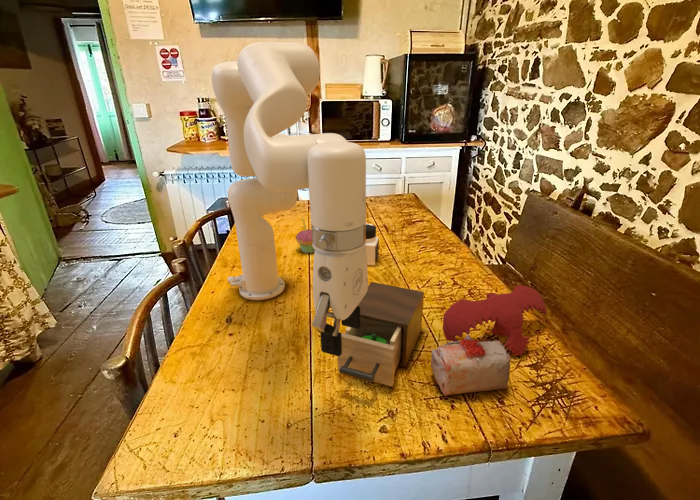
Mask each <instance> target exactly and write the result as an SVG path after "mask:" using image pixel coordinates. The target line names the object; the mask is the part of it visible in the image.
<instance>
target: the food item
mask: <svg viewBox="0 0 700 500" xmlns="http://www.w3.org/2000/svg"><path fill="white" fill-rule="evenodd" d="M430 362H431V363H430V367H431V372H432V374H433V377H434V380H435V382H436V383H437V385H438V387H439V389H440V390H441V393H442V394H443V395H444V397H448V396H454V395H462V394H469V393H477V392H489V391H496V390H506V389H508V388H509V386H508V383H509V379H510V369H511V355H510V353H508V352H507V348H506V346H504V344H503V343H502V342H501V341H500V340H499V339H498V340H497V339H496V340H485V341H479V340H477V339H475V340H474V339H473V337H471V335H470V333H469V334H466V335H465V337H464V338H463V339H460V340H458V341H457V342H453V341H449V342H447V343H444V344H442V345H438V347H437V348H434V349H433V350H431V361H430Z"/></svg>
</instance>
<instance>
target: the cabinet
mask: <svg viewBox="0 0 700 500" xmlns="http://www.w3.org/2000/svg"><path fill="white" fill-rule="evenodd" d="M424 298H425V291H421V290H415V289H412V288H411V289H410V288H405V287H401V286H394V285H390V284H385V283H378V282H374V281H371V282H370V283H368V290H367V292H366V294H365V296H364V297H363V299H362V300H361V304H360V306H358V307H360V317H361V318H365V319H370V320H374V321H378V322H383V323H387V324H391V325H396V326H400V327H404V332H403V352H402V357H401V359H400V361H399V363H398V365H397V366H399V367H403V368H406V367H407V364H408V362H409V360H410V357H411V356H412V353H413V351H414V348H415V347H416V344H417V341H418V339H419V337H420V334H421V332H422V325H423V324H422V323H423V313H424V311H423V310H424Z"/></svg>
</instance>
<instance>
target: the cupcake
mask: <svg viewBox="0 0 700 500" xmlns="http://www.w3.org/2000/svg"><path fill="white" fill-rule="evenodd" d="M301 221H302V225H303V230H301V231H299V232H298V233H297V234H296V235H295V239H296V242H297V244H298V245H299V246H300V248H301V251H302V252H304V253H305V254H306V253H307V254H311V253H314V252H315V249H314V248H313V246H312V230H311V229H307V227H306V221H305V218H304V217H303V216H301Z"/></svg>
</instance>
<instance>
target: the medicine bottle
mask: <svg viewBox="0 0 700 500" xmlns="http://www.w3.org/2000/svg"><path fill="white" fill-rule="evenodd" d="M365 246H366V255H367V266H373V267H374V266H376V265H377V262H378V258H379V251H380V237H379V236H377V227H376V226H375V225H374V224H372V223H366V245H365Z"/></svg>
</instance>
